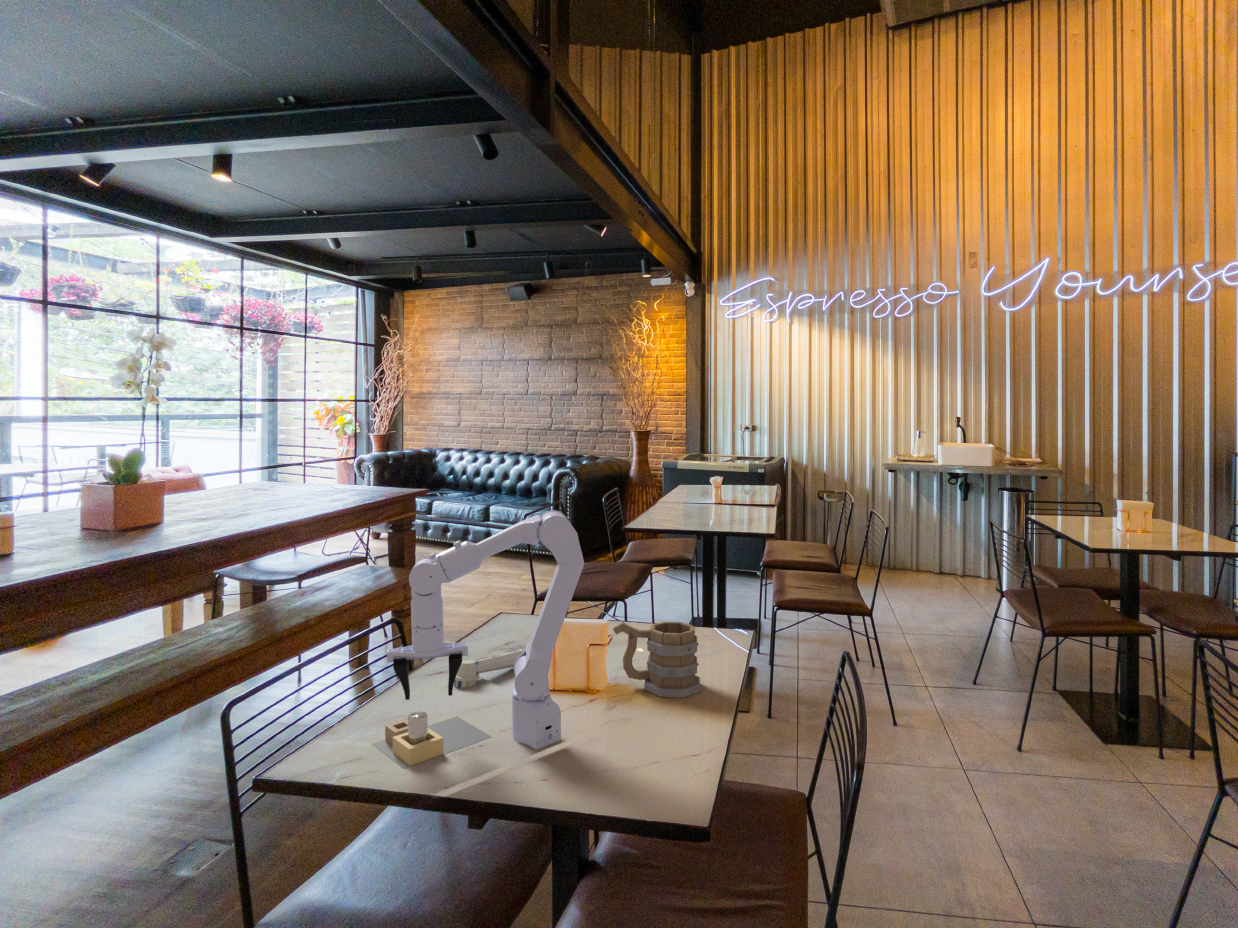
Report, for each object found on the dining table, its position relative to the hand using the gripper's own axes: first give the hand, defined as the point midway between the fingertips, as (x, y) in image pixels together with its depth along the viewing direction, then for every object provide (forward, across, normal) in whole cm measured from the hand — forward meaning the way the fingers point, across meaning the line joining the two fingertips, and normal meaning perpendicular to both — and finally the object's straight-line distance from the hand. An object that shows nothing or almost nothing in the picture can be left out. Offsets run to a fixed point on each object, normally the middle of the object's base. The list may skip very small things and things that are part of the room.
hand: (429, 695), depth 131 cm
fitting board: (+10, 0, -1) cm, 10 cm away
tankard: (+10, -50, -18) cm, 54 cm away
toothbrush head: (+10, -15, -35) cm, 40 cm away
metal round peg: (+9, +2, +4) cm, 10 cm away
